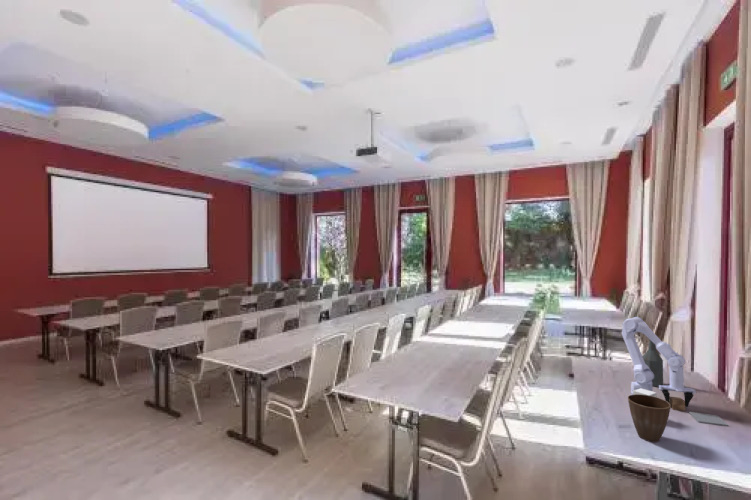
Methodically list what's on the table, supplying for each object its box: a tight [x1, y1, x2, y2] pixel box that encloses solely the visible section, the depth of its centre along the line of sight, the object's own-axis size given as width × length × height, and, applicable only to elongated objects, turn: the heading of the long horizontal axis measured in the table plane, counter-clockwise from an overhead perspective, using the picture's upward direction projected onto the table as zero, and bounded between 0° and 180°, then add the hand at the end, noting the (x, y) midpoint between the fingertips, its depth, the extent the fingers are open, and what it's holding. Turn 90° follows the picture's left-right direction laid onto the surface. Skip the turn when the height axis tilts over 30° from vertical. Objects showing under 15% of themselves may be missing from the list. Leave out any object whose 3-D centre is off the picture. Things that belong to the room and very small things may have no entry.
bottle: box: [642, 338, 664, 388], centre depth 225 cm, size 10×10×30 cm
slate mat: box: [688, 411, 729, 427], centre depth 178 cm, size 11×11×1 cm
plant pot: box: [627, 394, 671, 443], centre depth 161 cm, size 15×15×16 cm
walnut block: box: [669, 396, 686, 412], centre depth 190 cm, size 5×5×5 cm
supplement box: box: [633, 388, 658, 398], centre depth 181 cm, size 7×7×13 cm
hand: (677, 405), depth 190 cm, fingers open, 7 cm apart
